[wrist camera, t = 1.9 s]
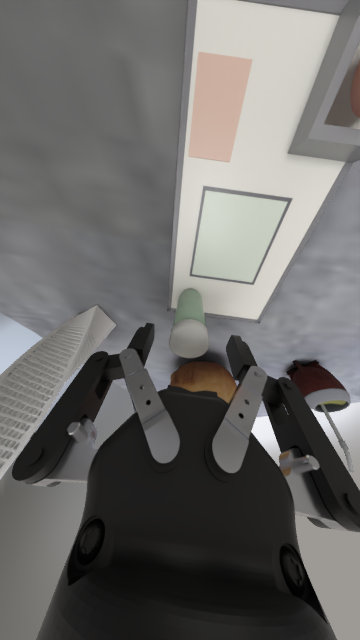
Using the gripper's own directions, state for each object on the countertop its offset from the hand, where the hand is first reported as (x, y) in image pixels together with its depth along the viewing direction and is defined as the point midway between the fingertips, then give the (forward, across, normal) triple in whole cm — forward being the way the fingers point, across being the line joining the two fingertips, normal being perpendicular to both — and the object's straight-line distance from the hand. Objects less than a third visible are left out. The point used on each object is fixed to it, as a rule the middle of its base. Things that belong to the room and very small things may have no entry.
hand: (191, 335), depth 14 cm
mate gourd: (+10, -27, +14) cm, 32 cm away
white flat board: (+10, -4, -10) cm, 14 cm away
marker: (+9, 0, 0) cm, 9 cm away
